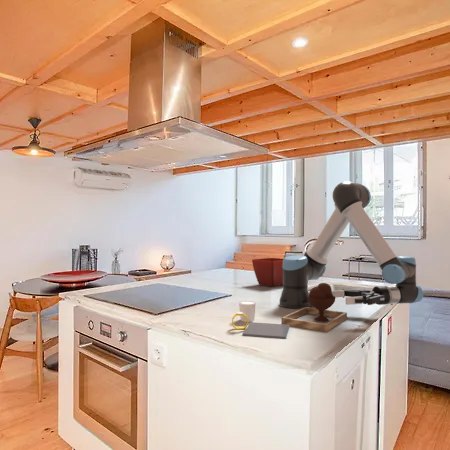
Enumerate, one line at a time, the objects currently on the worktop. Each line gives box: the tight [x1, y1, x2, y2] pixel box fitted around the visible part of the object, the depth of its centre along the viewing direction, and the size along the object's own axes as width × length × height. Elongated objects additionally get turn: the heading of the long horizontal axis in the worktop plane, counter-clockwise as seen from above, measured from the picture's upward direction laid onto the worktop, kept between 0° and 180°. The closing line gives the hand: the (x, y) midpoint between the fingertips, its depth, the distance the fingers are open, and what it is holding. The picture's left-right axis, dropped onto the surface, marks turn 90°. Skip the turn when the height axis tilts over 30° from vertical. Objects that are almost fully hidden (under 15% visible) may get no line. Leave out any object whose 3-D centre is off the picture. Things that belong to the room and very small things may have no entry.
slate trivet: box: [241, 321, 291, 340], centre depth 124 cm, size 15×15×1 cm
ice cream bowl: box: [307, 282, 337, 323], centre depth 138 cm, size 11×11×15 cm
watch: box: [231, 311, 249, 330], centre depth 127 cm, size 6×3×6 cm, turn 91°
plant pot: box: [251, 257, 284, 288], centre depth 225 cm, size 19×19×17 cm
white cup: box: [238, 300, 256, 323], centre depth 140 cm, size 7×7×7 cm
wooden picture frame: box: [280, 307, 348, 333], centre depth 136 cm, size 18×22×2 cm
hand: (337, 297), depth 138 cm, fingers open, 13 cm apart
